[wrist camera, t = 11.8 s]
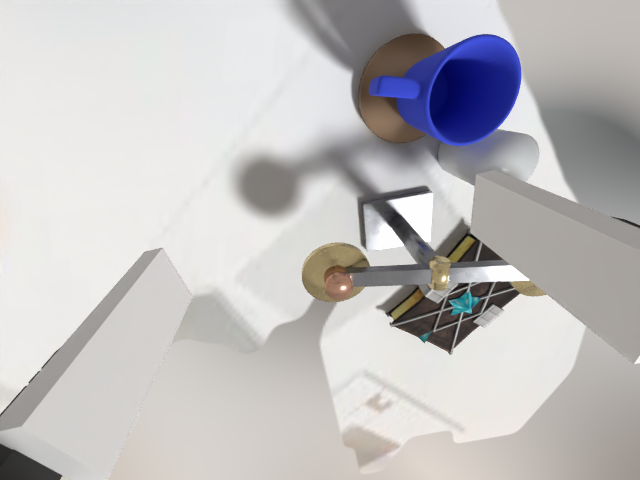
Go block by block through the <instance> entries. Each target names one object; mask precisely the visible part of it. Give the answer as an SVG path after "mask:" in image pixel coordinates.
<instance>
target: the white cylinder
mask: <svg viewBox="0 0 640 480" xmlns="http://www.w3.org/2000/svg"><path fill="white" fill-rule="evenodd" d="M538 159H539V147H538V144H537V142H536V141H535V139H534V138H533V137H531V136H529V135H527V134H522V133H517V132H511V131H505V130H499V129H496V130H495V131H494V132H493V133H491V134H490V135H489V136H487V137H486V138H484V139H482V140H480V141H478V142H476V143H473V144H470V145H465V146H453V145H448V144H445V143H443V142H441V144H440V146H439V150H438V161H439V164H440V166H441V168H442V169H443V170H445V171H446V172H448V173H450V174H452V175H454V176H456V177H458V178H460V179H462V180H464V181H466V182H468V183H470V184H472V185H474V186H475V180H476V174H480V173H484V172H488V171H492V170H496V171H499V172H501V173H504V174H506V175H509V176H511V177H514V178H516V179H518V180H521V181H523V182H526V181H527V180H528V179H529V177H530V176H531V175H532V173H533V172H534V170H535V168H536V166H537V163H538Z"/></svg>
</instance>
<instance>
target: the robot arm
mask: <svg viewBox="0 0 640 480" xmlns="http://www.w3.org/2000/svg"><path fill="white" fill-rule="evenodd" d="M470 233H471V234H473V235H474V236H475V237H476V238H478V239H479V240H480V241H481V242H483V243H484V244H485V245H486V246H488V247H489V248H490V249H491V250H492V251H494V252H495V253H496V254H497V255H499V256H500V257H501V258H502V259H504V260H505V261H506V262H507V263H509V264H510V265H511V266H512V267H514V268H515V269H516V270H517V271H519V272H520V273H521V274H522V275H524V276H525V277H526V278H527V279H529V280H530V281H531V282H532V283H534V284H535V285H536V286H537V287H539V288H540V289H541V290H542V291H543V292H545V293H546V294H547V295H548V296H550V297H551V298H552V299H553V300H555V301H556V302H557V303H558V304H560V305H561V306H562V307H563V308H565V309H566V310H567V311H568V312H570V313H571V314H572V315H573V316H575V317H576V318H577V319H578V320H580V321H581V322H582V323H583V324H585V325H586V326H587V327H588V328H590V329H591V330H592V331H593V332H594V333H596V334H597V335H598V336H599V337H601V338H602V339H603V340H605V341H606V342H607V343H608V344H609V345H611V346H612V347H613V348H614V349H616V350H617V351H618V352H619V353H621V354H622V355H623V356H624V357H626V358H627V359H628V360H629V361H631V362H632V363H633V364H636V363H640V225H637V224H635V223H632V222H630V221H627V220H624V219H619V218H615V217H611V216H608V215H605V214H603V213H600V212H598V211H595V210H593V209H590V208H588V207H585V206H583V205H580V204H578V203H576V202H573V201H571V200H568V199H566V198H563V197H561V196H558V195H556V194H553V193H551V192H548V191H546V190H543V189H541V188H538V187H536V186H533V185H531V184H528V183H526V182H523V181H521V180H518V179H516V178H514V177H511V176H509V175H506V174H504V173H501V172H499V171H496V170H492V171H488V172H484V173H480V174H476V180H475V189H474V199H473V209H472V218H471V228H470ZM192 297H193V296H192V294H191V293H190V291H189V289H188V288H187V286H186V285H185V283H184V281H183V280H182V278H181V276H180V275H179V273H178V272H177V270H176V268H175V267H174V265H173V264H172V262H171V260H170V259H169V257H168V255H167V254H166V252H165V251H164V249H163V248H159V249H155V250H151V251H146V252H144V253H143V254H142V256H141V257H140V258H139V259H138V260H137V261H136V262H135V264H134V265H133V266H132V267H131V268H130V269H129V270H128V272H127V273H126V274H125V275H124V276H123V277H122V278H121V280H120V281H119V282H118V283H117V284H116V285H115V286H114V288H113V289H112V290H111V291H110V292H109V293H108V294H107V296H106V297H105V298H104V299H103V300H102V301H101V302H100V304H99V305H98V306H97V307H96V308H95V309H94V310H93V311H92V313H91V314H90V315H89V316H88V317H87V318H86V319H85V321H84V322H83V323H82V324H81V325H80V326H79V327H78V329H77V330H76V331H75V332H74V333H73V334H72V335H71V337H70V338H69V339H68V340H67V341H66V342H65V343H64V345H63V346H62V347H61V348H59V349H58V350H57V351H56V352H55V353H54V354H53V355H52V357H51V358H50V359H49V360H48V361H47V362H46V363H45V364H44V366H43V367H42V370H41V371H38V372H37V374H36V375H35V376H34V377H33V378H32V379H31V380H30V381H29V384H28V386H25V387H24V388H23V389H22V391H21V392H20V393H19V394H18V395H17V396H16V397H15V398H14V400H13V401H12V402H11V403H10V404H9V405H8V406H7V408H6V409H5V410H4V411H3V412H2V413H1V414H0V480H60V479H61V477H64V478H66V479H68V480H106V479H109V477H110V475H111V472H112V470H113V468H114V466H115V464H116V461H117V459H118V457H119V455H120V453H121V450H122V449H123V446H124V444H125V442H126V440H127V438H128V436H129V433H130V431H131V429H132V427H133V425H134V423H135V420H136V418H137V416H138V414H139V412H140V410H141V407H142V405H143V403H144V401H145V398H146V396H147V394H148V392H149V390H150V388H151V386H152V383H153V381H154V379H155V377H156V375H157V373H158V371H159V368H160V366H161V364H162V362H163V360H164V357H165V355H166V353H167V351H168V349H169V347H170V345H171V342H172V340H173V338H174V336H175V334H176V332H177V329H178V327H179V325H180V323H181V321H182V319H183V316H184V314H185V312H186V310H187V308H188V306H189V303H190V301H191V299H192Z"/></svg>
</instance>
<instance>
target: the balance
mask: <svg viewBox="0 0 640 480" xmlns="http://www.w3.org/2000/svg"><path fill="white" fill-rule="evenodd" d="M432 203H433V192H432V191H430V190H429V191H423V192H417V193H411V194H406V195H400V196H394V197H389V198H383V199H377V200H372V201H366V202H362V210H363V223H364V237H365V249H366V251H367V252H370V251H376V250H382V249H387V248H393V247H399V246H405V247H406V249H407V250H408V251H409V253H410V254H411V256H412V257H413V258H414V260H415V261H416V262H417V264H413V265H394V266H374V267H370V265H369V262H368V260H367V258H366V256H365V255H364V253H363V252H362V251H361V250H360V249H358V248H357V247H355V246H353V245H350V244H346V243H330V244H326V245H323V246H321V247H319V248H317V249H316V250H314V251H313V252H312V253H311V254H310V255H309V256H308V257H307V259H306V260H305V262H304V264H303V268H302V281H303V285H304V287H305V289H306V290H307V292H308V293H309V294H310V295H312V296H313V297H315V298H317V299H319V300H322V301H326V302H340V301H344V300H347V299H350V298H352V297H354V296H356V295H357V294H358V293H360V292H361V291H362V290H363V289H364V287H367V286H393V285H419V284H428V286H429V287H430V288H431V289H433V290H435V291H444V290H446V289H447V288H448V283H471V282H497V281H509V283H510V284H511V285H512V286H513V287H514V288H515V289H516V290H517V291H518V292H520V293H521V294H523V295H527V296H542V295H547V294H546V293H545V292H543V291H542V290H541V289H540V288H539V287H537V286H536V285H535V284H534V283H532V282H531V281H530V280H529V279H527V278H526V277H525V276H524V275H522V274H521V273H520V272H519V271H517V270H516V269H515V268H514V267H512V266H511V265H510V264H509V263H507V262H506V261H505V260H491V261H472V262H452V263H451V261H450V260H449V259H448V258H446V257H443V256H438V254H437V253H436V252H435V251H434V250H433V249H432V248H431V247H430V246H429V245H428V243H427V241H430V232H431V217H432Z"/></svg>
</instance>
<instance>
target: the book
mask: <svg viewBox="0 0 640 480" xmlns="http://www.w3.org/2000/svg"><path fill="white" fill-rule="evenodd" d="M446 258H448V259H449V260H450V261H451V263H452V262H472V261H491V260H504V259H502V258H501V257H500V256H499V255H497V254H496V253H495V252H494V251H492V250H491V249H490V248H489V247H488V246H486V245H485V244H484V243H483V242H481V241H480V240H479V239H478V238H476V237H475V236H474V235H473V234H471V233H470V230H467V234H466V235H465V236H464V237H463V238H462V239H461V240H460V242H459V243H458V244H457V245H456V246H455V247H454V249H453V250H452V251H451V252H450V253H449V254H448V256H447V257H446ZM519 294H520V292H518V291H517V290H516V289H515V288H514V287H513V286H512V285H511V284H510V283H509V281H497V282H471V283H448V288H447V289H446V290H444V291H435V290H433V289H431V288H430V287H429V286H428V284H419V285H418V287H417V288H416V289H415V290H414V291H413V292H412V294H410V295H409V296H408V297H407V298H406V299H404V300H403V301H402V302H401V303H400V304H398V305H397V306H396V307H395V308H393V309H392V310H391V311H390V312H389V313H387V316H391V317H392V318H393V319H394V321H393V322H392V323H391V322H390V326H391V327H397V328H399V329H401V330H404V331H406V332H408V333H410V334H413V335H415V336H417V337H419V338H420V339H421V340H422V341H423V342H424V343H425V342H426V341H428V342H430V343H432V344H434V345H436V346H438V347H440V348H442V349H444V350H446V351H448V353H449V354H450V355H452V352H453V349H454V348H455V347H456V346H457V345H458V344H459V343H460V342H461V341H462V340H464V339H465V338H466V337H467V336H468V335H469V334H470V333H471V332H472V331H474V330H475V329H476V328H477V327H479V326H482V327H484V328H485V327H486V326H487V325H488V324H490V323H491V322H492V321H493V320H495V319H496V318H497V317H498V316H499V315H501V314H502V313H503V312H504V310H503V309H502V307H504V306H505V305H506V304H507V303H509V302H510V301H511V300H512V299H514V298H515V297H516V296H517V295H519Z"/></svg>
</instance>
